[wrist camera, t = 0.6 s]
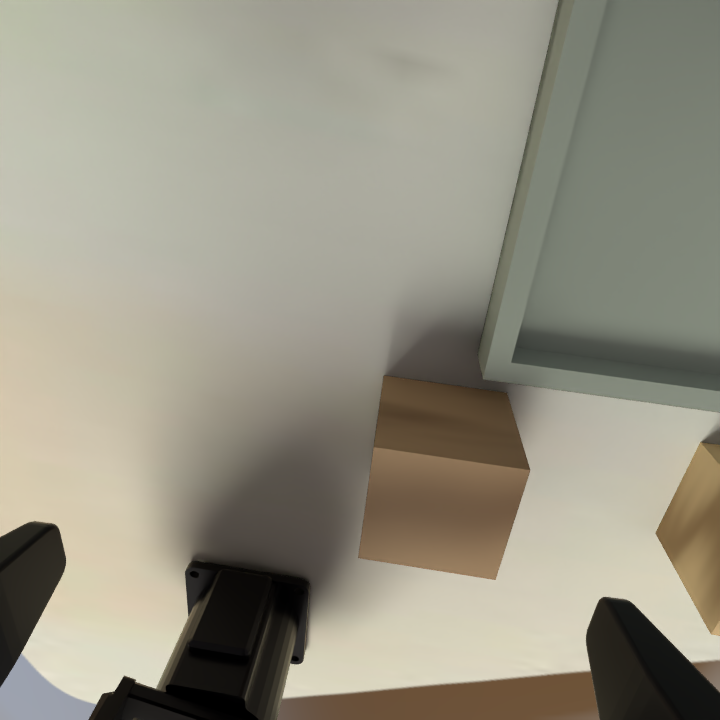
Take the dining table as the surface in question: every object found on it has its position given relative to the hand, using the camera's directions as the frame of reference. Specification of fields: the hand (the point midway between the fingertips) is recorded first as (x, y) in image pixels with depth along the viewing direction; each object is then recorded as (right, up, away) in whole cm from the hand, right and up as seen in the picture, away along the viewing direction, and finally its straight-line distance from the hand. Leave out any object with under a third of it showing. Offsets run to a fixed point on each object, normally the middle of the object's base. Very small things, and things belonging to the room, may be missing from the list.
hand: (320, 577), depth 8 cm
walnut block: (+4, 0, +13) cm, 14 cm away
